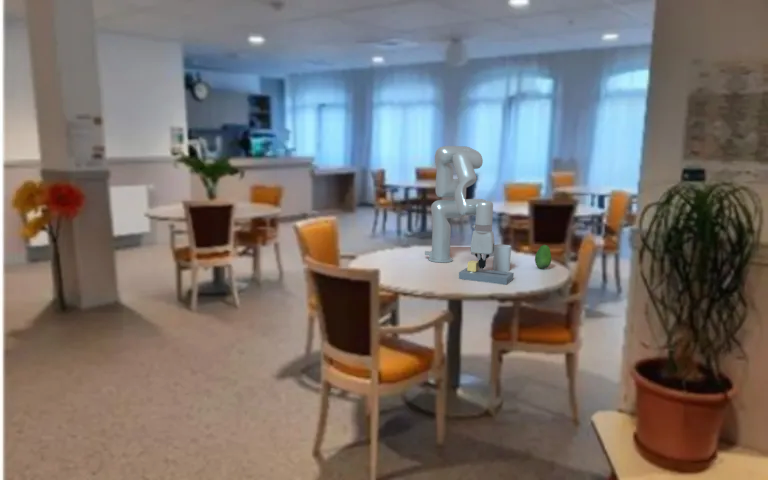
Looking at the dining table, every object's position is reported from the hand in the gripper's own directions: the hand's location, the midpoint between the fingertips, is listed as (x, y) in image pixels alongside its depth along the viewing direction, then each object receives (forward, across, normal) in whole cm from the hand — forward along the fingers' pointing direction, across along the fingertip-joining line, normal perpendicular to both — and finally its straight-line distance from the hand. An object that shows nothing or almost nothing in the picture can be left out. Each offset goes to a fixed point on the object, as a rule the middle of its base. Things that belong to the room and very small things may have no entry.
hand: (481, 268), depth 265 cm
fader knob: (+2, -4, 0) cm, 4 cm away
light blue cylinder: (+5, +3, +22) cm, 23 cm away
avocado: (+5, +20, +36) cm, 42 cm away
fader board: (+5, +2, 0) cm, 5 cm away
